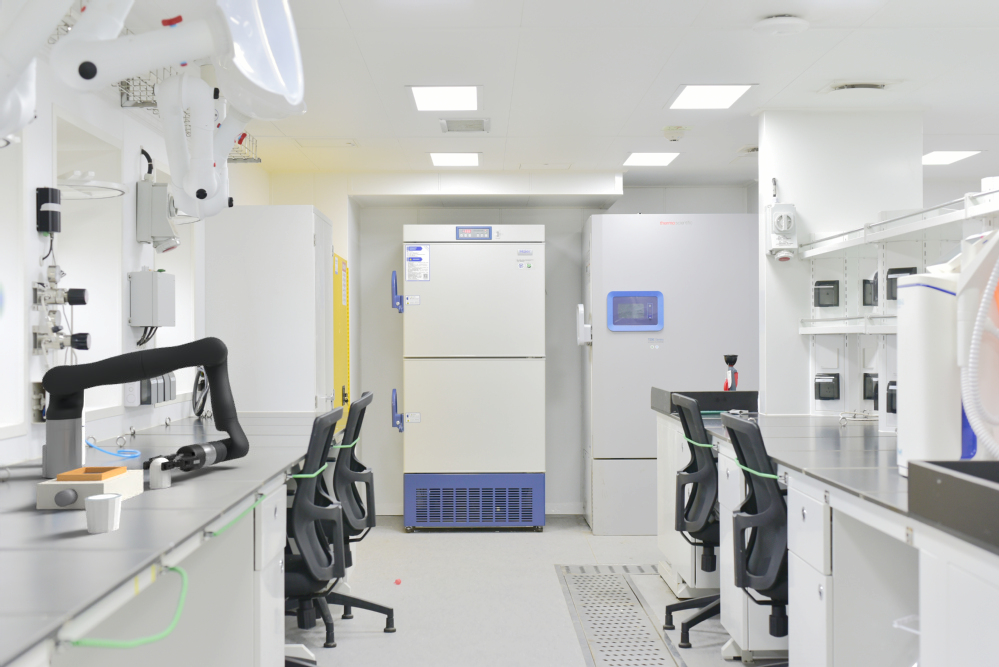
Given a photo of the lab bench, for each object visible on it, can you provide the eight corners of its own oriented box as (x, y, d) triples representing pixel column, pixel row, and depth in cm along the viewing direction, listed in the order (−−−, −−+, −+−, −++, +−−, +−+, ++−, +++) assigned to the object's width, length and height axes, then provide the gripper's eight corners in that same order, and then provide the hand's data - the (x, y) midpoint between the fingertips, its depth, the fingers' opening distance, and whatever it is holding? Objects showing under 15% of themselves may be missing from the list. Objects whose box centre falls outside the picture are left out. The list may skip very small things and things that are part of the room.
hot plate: (27, 512, 160) (27, 480, 160) (82, 493, 181) (82, 464, 181) (96, 511, 160) (96, 479, 160) (143, 492, 181) (143, 463, 181)
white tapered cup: (126, 529, 144) (126, 495, 144) (90, 536, 139) (90, 501, 139) (115, 523, 148) (115, 491, 149) (79, 530, 143) (79, 496, 144)
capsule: (162, 484, 191) (162, 455, 191) (175, 485, 189) (175, 456, 189) (145, 487, 187) (145, 458, 187) (157, 489, 184) (157, 459, 184)
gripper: (175, 443, 203) (131, 451, 187) (217, 444, 200) (175, 453, 183) (175, 468, 203) (131, 479, 187) (217, 470, 200) (175, 481, 183)
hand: (153, 466), depth 185 cm, fingers closed on capsule, 5 cm apart
